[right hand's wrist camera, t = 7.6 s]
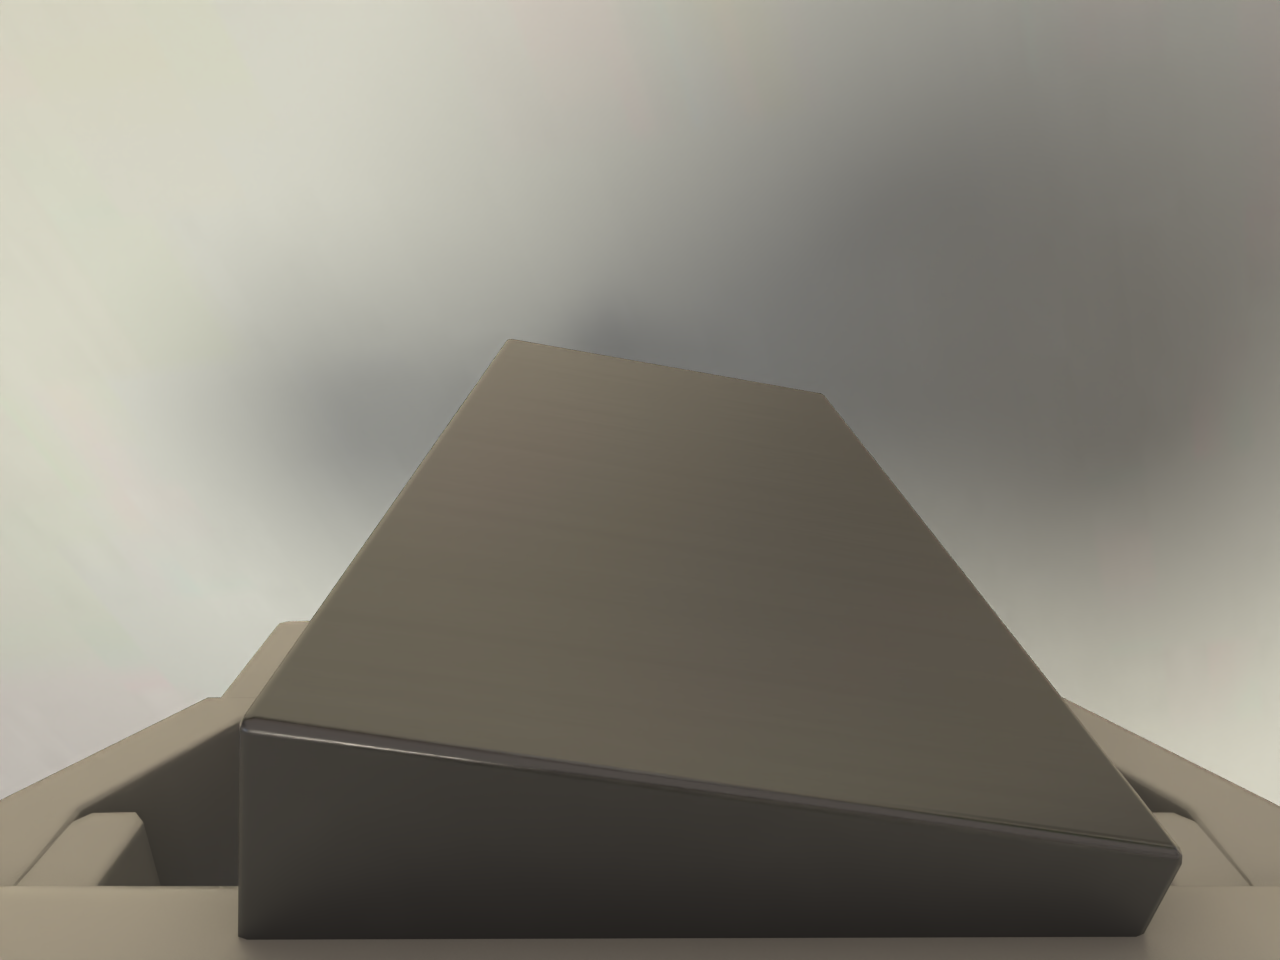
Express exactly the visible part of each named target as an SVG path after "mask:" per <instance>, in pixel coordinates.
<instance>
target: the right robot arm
mask: <svg viewBox="0 0 1280 960" xmlns="http://www.w3.org/2000/svg"><path fill="white" fill-rule="evenodd" d="M309 622H310V621H288V622H283V623H280V624H279V625H278V626H277V627H276V628H275V629H274V631H273V632H272V633H271V634H270V636H269V637H268V638H267V640H266V641H265V642H264V643H263V645H262V646H261V647H260V648H259V650H258V651H257V652H256V654H255V655H254V656H253V657H252V659H251V660H250V661H249V663H248V664H247V665H246V666H245V668H244V669H243V670H242V671H241V673H240V674H239V675H238V677H237V678H236V679H235V680H234V682H233V683H232V684H231V685H230V687H229V688H228V689H227V691H226V692H225V693H224V694H223V696H222V697H221V698H206V699H204V700H202V701H200V702H198V703H196V704H194V705H192V706H190V707H188V708H186V709H184V710H182V711H180V712H178V713H176V714H174V715H172V716H170V717H168V718H166V719H164V720H161V721H159V722H157V723H155V724H153V725H151V726H149V727H147V728H145V729H143V730H141V731H139V732H137V733H135V734H133V735H131V736H129V737H127V738H125V739H123V740H121V741H119V742H117V743H115V744H113V745H111V746H109V747H107V748H105V749H103V750H101V751H99V752H97V753H95V754H93V755H91V756H89V757H87V758H85V759H83V760H81V761H79V762H77V763H75V764H73V765H70V766H68V767H66V768H64V769H62V770H60V771H58V772H56V773H54V774H52V775H50V776H48V777H46V778H44V779H42V780H40V781H38V782H36V783H34V784H32V785H30V786H28V787H26V788H24V789H22V790H20V791H18V792H16V793H14V794H12V795H10V796H8V797H6V798H4V799H2V800H0V960H1280V806H1278V805H1276V804H1274V803H1272V802H1270V801H1268V800H1266V799H1264V798H1262V797H1260V796H1258V795H1256V794H1254V793H1252V792H1250V791H1248V790H1246V789H1244V788H1242V787H1240V786H1238V785H1236V784H1234V783H1232V782H1230V781H1228V780H1226V779H1224V778H1222V777H1220V776H1218V775H1216V774H1214V773H1212V772H1210V771H1208V770H1206V769H1204V768H1202V767H1200V766H1198V765H1196V764H1194V763H1192V762H1190V761H1188V760H1186V759H1184V758H1182V757H1180V756H1178V755H1176V754H1174V753H1172V752H1170V751H1168V750H1166V749H1164V748H1162V747H1160V746H1158V745H1156V744H1154V743H1152V742H1150V741H1148V740H1146V739H1144V738H1142V737H1140V736H1138V735H1136V734H1134V733H1132V732H1130V731H1128V730H1126V729H1124V728H1122V727H1120V726H1118V725H1116V724H1114V723H1112V722H1110V721H1108V720H1106V719H1104V718H1102V717H1100V716H1098V715H1096V714H1094V713H1092V712H1090V711H1088V710H1086V709H1084V708H1082V707H1080V706H1078V705H1076V704H1074V703H1072V702H1070V701H1068V700H1066V699H1064V698H1063V700H1064V701H1065V702H1066V703H1067V705H1068V706H1069V707H1070V709H1071V710H1072V711H1073V712H1074V714H1075V715H1076V716H1077V717H1078V719H1079V720H1080V721H1081V723H1082V724H1083V725H1084V726H1085V728H1086V729H1087V730H1088V731H1089V733H1090V734H1091V735H1092V737H1093V738H1094V739H1095V740H1096V742H1097V743H1098V744H1099V745H1100V747H1101V748H1102V749H1103V750H1104V752H1105V753H1106V754H1107V756H1108V757H1109V758H1110V759H1111V761H1112V762H1113V763H1114V764H1115V766H1116V767H1117V768H1118V770H1119V771H1120V772H1121V773H1122V775H1123V776H1124V777H1125V778H1126V780H1127V781H1128V782H1129V784H1130V785H1131V786H1132V787H1133V789H1134V790H1135V791H1136V792H1137V794H1138V795H1139V796H1140V798H1141V799H1142V800H1143V801H1144V803H1145V804H1146V805H1147V806H1148V808H1149V809H1150V810H1151V811H1152V813H1153V814H1154V815H1155V817H1156V818H1157V819H1158V820H1159V822H1160V823H1161V824H1162V825H1163V827H1164V828H1165V829H1166V831H1167V832H1168V833H1169V834H1170V836H1171V837H1172V838H1173V839H1174V841H1175V842H1176V843H1177V845H1178V846H1179V847H1180V850H1181V853H1182V865H1181V867H1180V869H1179V870H1178V872H1177V874H1176V876H1175V878H1174V880H1173V881H1172V883H1171V885H1170V887H1169V889H1168V891H1167V892H1166V894H1165V896H1164V898H1163V900H1162V902H1161V903H1160V905H1159V907H1158V909H1157V911H1156V913H1155V915H1154V916H1153V918H1152V920H1151V922H1150V924H1149V926H1148V927H1147V929H1146V931H1145V933H1144V934H1142V935H1140V936H1137V937H944V938H633V939H323V940H246V939H243V938H241V937H238V856H239V727H240V722H241V720H242V718H243V717H244V715H245V713H246V712H247V710H248V709H249V708H250V706H251V705H252V703H253V702H254V701H255V699H256V698H257V696H258V695H259V693H260V692H261V691H262V689H263V688H264V686H265V685H266V683H267V682H268V681H269V679H270V678H271V676H272V675H273V673H274V672H275V671H276V669H277V668H278V666H279V665H280V663H281V662H282V661H283V659H284V658H285V656H286V655H287V653H288V652H289V651H290V649H291V648H292V646H293V645H294V643H295V642H296V641H297V639H298V638H299V636H300V635H301V634H302V632H303V631H304V629H305V628H306V626H307V625H308V624H309Z"/></svg>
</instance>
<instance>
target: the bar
mask: <svg viewBox="0 0 1280 960" xmlns="http://www.w3.org/2000/svg"><path fill="white" fill-rule="evenodd" d="M1181 865H1182V853H1181V850H1180V847H1179V846H1178V845H1177V843H1176V842H1175V841H1174V839H1173V838H1172V837H1171V836H1170V834H1169V833H1168V832H1167V831H1166V829H1165V828H1164V827H1163V825H1162V824H1161V823H1160V822H1159V820H1158V819H1157V818H1156V817H1155V815H1154V814H1153V813H1152V811H1151V810H1150V809H1149V808H1148V806H1147V805H1146V804H1145V803H1144V801H1143V800H1142V799H1141V798H1140V796H1139V795H1138V794H1137V792H1136V791H1135V790H1134V789H1133V787H1132V786H1131V785H1130V784H1129V782H1128V781H1127V780H1126V778H1125V777H1124V776H1123V775H1122V773H1121V772H1120V771H1119V770H1118V768H1117V767H1116V766H1115V764H1114V763H1113V762H1112V761H1111V759H1110V758H1109V757H1108V756H1107V754H1106V753H1105V752H1104V750H1103V749H1102V748H1101V747H1100V745H1099V744H1098V743H1097V742H1096V740H1095V739H1094V738H1093V737H1092V735H1091V734H1090V733H1089V731H1088V730H1087V729H1086V728H1085V726H1084V725H1083V724H1082V723H1081V721H1080V720H1079V719H1078V717H1077V716H1076V715H1075V714H1074V712H1073V711H1072V710H1071V709H1070V707H1069V706H1068V705H1067V703H1066V702H1065V701H1064V700H1063V698H1062V697H1061V696H1060V695H1059V693H1058V692H1057V691H1056V689H1055V688H1054V687H1053V686H1052V684H1051V683H1050V682H1049V681H1048V679H1047V678H1046V677H1045V675H1044V674H1043V673H1042V672H1041V670H1040V669H1039V668H1038V667H1037V665H1036V664H1035V663H1034V662H1033V660H1032V659H1031V658H1030V656H1029V655H1028V654H1027V653H1026V651H1025V650H1024V649H1023V648H1022V646H1021V645H1020V644H1019V642H1018V641H1017V640H1016V639H1015V637H1014V636H1013V635H1012V634H1011V632H1010V631H1009V630H1008V628H1007V627H1006V626H1005V625H1004V623H1003V622H1002V621H1001V620H1000V618H999V617H998V616H997V614H996V613H995V612H994V611H993V609H992V608H991V607H990V606H989V604H988V603H987V602H986V601H985V599H984V598H983V597H982V595H981V594H980V593H979V592H978V590H977V589H976V588H975V587H974V585H973V584H972V583H971V581H970V580H969V579H968V578H967V576H966V575H965V574H964V573H963V571H962V570H961V569H960V567H959V566H958V565H957V564H956V562H955V561H954V560H953V559H952V557H951V556H950V555H949V553H948V552H947V551H946V550H945V548H944V547H943V546H942V545H941V543H940V542H939V541H938V540H937V538H936V537H935V536H934V534H933V533H932V532H931V531H930V529H929V528H928V527H927V526H926V524H925V523H924V522H923V520H922V519H921V518H920V517H919V515H918V514H917V513H916V512H915V510H914V509H913V508H912V506H911V505H910V504H909V503H908V501H907V500H906V499H905V498H904V496H903V495H902V494H901V492H900V491H899V490H898V489H897V487H896V486H895V485H894V484H893V482H892V481H891V480H890V478H889V477H888V476H887V475H886V473H885V472H884V471H883V470H882V468H881V467H880V466H879V465H878V463H877V462H876V461H875V459H874V458H873V457H872V456H871V454H870V453H869V452H868V451H867V449H866V448H865V447H864V445H863V444H862V443H861V442H860V440H859V439H858V438H857V437H856V435H855V434H854V433H853V431H852V430H851V429H850V428H849V426H848V425H847V424H846V423H845V421H844V420H843V419H842V417H841V416H840V415H839V414H838V412H837V411H836V410H835V409H834V407H833V406H832V405H831V404H830V402H829V401H828V400H827V398H826V397H825V396H824V395H823V394H821V393H815V392H810V391H804V390H798V389H793V388H787V387H781V386H776V385H770V384H764V383H759V382H753V381H747V380H742V379H736V378H730V377H725V376H719V375H713V374H707V373H702V372H696V371H690V370H685V369H679V368H673V367H668V366H662V365H656V364H651V363H645V362H639V361H634V360H628V359H622V358H617V357H611V356H605V355H600V354H594V353H588V352H583V351H577V350H571V349H566V348H560V347H554V346H548V345H543V344H537V343H531V342H526V341H520V340H514V339H509V340H507V341H506V343H505V344H504V346H503V347H502V348H501V350H500V351H499V353H498V354H497V356H496V357H495V358H494V360H493V361H492V363H491V364H490V366H489V367H488V368H487V370H486V371H485V373H484V374H483V375H482V377H481V378H480V380H479V381H478V383H477V384H476V385H475V387H474V388H473V390H472V391H471V393H470V394H469V395H468V397H467V398H466V400H465V401H464V403H463V404H462V405H461V407H460V408H459V410H458V411H457V413H456V414H455V415H454V417H453V418H452V420H451V421H450V423H449V424H448V425H447V427H446V428H445V430H444V431H443V433H442V434H441V435H440V437H439V438H438V440H437V441H436V442H435V444H434V445H433V447H432V448H431V450H430V451H429V452H428V454H427V455H426V457H425V458H424V460H423V461H422V462H421V464H420V465H419V467H418V468H417V470H416V471H415V472H414V474H413V475H412V477H411V478H410V480H409V481H408V482H407V484H406V485H405V487H404V488H403V490H402V491H401V492H400V494H399V495H398V497H397V498H396V500H395V501H394V502H393V504H392V505H391V507H390V508H389V509H388V511H387V512H386V514H385V515H384V517H383V518H382V519H381V521H380V522H379V524H378V525H377V527H376V528H375V529H374V531H373V532H372V534H371V535H370V537H369V538H368V539H367V541H366V542H365V544H364V545H363V547H362V548H361V549H360V551H359V552H358V554H357V555H356V557H355V558H354V559H353V561H352V562H351V564H350V565H349V567H348V568H347V569H346V571H345V572H344V574H343V575H342V576H341V578H340V579H339V581H338V582H337V584H336V585H335V586H334V588H333V589H332V591H331V592H330V594H329V595H328V596H327V598H326V599H325V601H324V602H323V604H322V605H321V606H320V608H319V609H318V611H317V612H316V614H315V615H314V616H313V618H312V619H311V621H310V622H309V624H308V625H307V626H306V628H305V629H304V631H303V632H302V634H301V635H300V636H299V638H298V639H297V641H296V642H295V643H294V645H293V646H292V648H291V649H290V651H289V652H288V653H287V655H286V656H285V658H284V659H283V661H282V662H281V663H280V665H279V666H278V668H277V669H276V671H275V672H274V673H273V675H272V676H271V678H270V679H269V681H268V682H267V683H266V685H265V686H264V688H263V689H262V691H261V692H260V693H259V695H258V696H257V698H256V699H255V701H254V702H253V703H252V705H251V706H250V708H249V709H248V710H247V712H246V713H245V715H244V717H243V718H242V720H241V722H240V727H239V856H238V937H241V938H243V939H246V940H323V939H633V938H944V937H1137V936H1140V935H1142V934H1144V933H1145V931H1146V929H1147V927H1148V926H1149V924H1150V922H1151V920H1152V918H1153V916H1154V915H1155V913H1156V911H1157V909H1158V907H1159V905H1160V903H1161V902H1162V900H1163V898H1164V896H1165V894H1166V892H1167V891H1168V889H1169V887H1170V885H1171V883H1172V881H1173V880H1174V878H1175V876H1176V874H1177V872H1178V870H1179V869H1180V867H1181Z"/></svg>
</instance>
